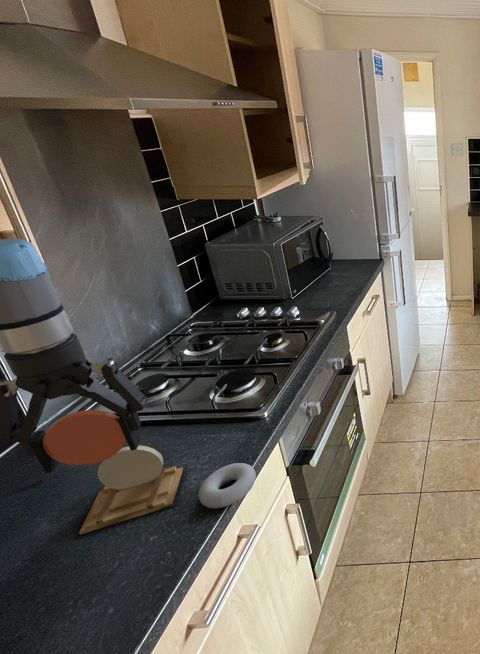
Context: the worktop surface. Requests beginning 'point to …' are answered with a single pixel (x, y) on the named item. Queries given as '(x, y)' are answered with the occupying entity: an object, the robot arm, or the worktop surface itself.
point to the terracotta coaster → (84, 437)
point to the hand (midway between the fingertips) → (96, 455)
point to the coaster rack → (132, 500)
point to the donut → (224, 497)
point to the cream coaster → (130, 468)
